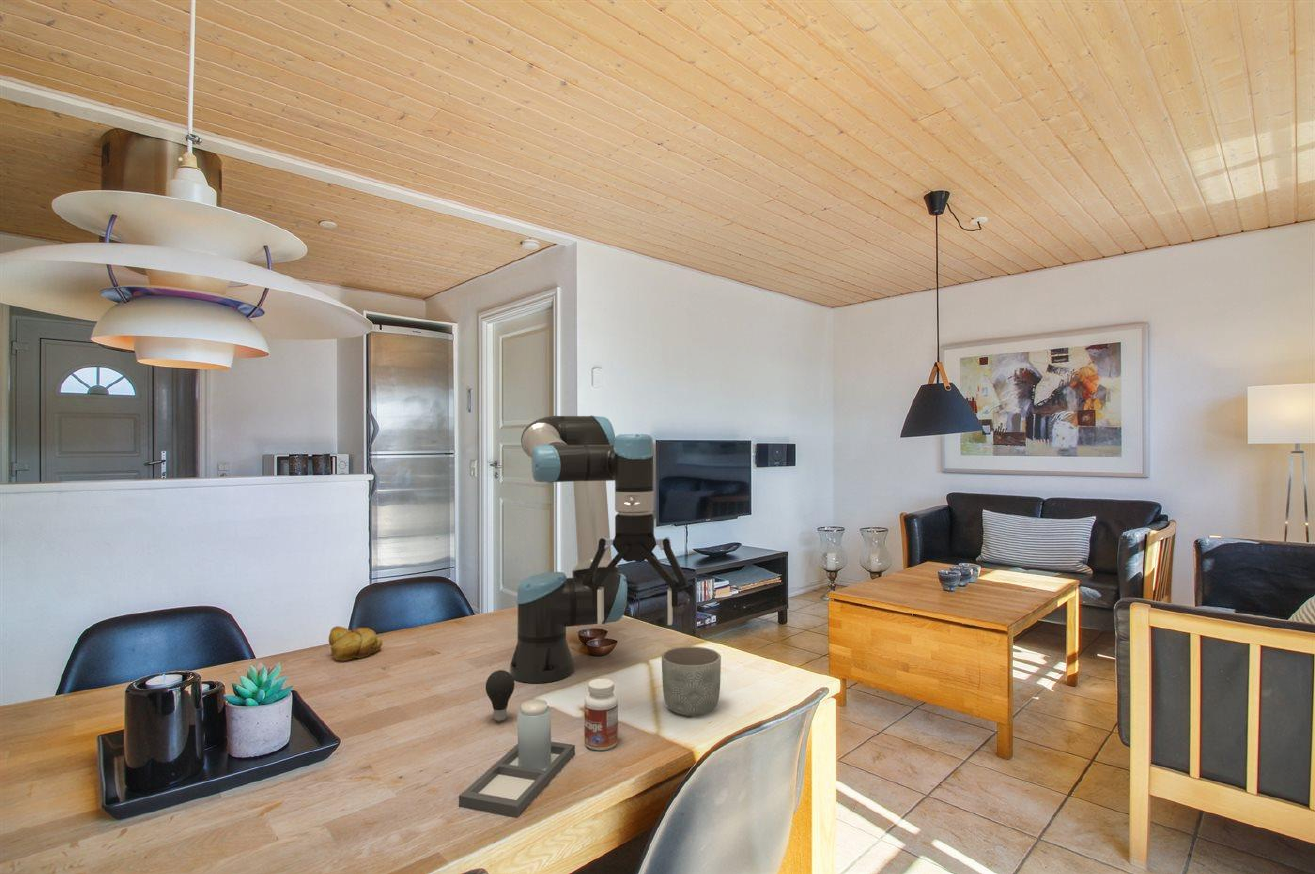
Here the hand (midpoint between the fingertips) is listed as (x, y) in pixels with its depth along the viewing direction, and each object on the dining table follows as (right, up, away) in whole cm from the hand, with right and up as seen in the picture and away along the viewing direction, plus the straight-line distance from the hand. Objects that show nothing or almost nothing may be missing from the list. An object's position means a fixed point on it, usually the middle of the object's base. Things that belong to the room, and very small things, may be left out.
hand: (635, 622), depth 122 cm
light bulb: (-27, -21, +3) cm, 34 cm away
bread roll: (-75, -22, +44) cm, 90 cm away
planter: (+11, -21, +9) cm, 25 cm away
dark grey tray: (-18, -20, -18) cm, 33 cm away
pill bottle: (-6, -21, -6) cm, 22 cm away
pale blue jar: (-17, -20, -14) cm, 30 cm away
